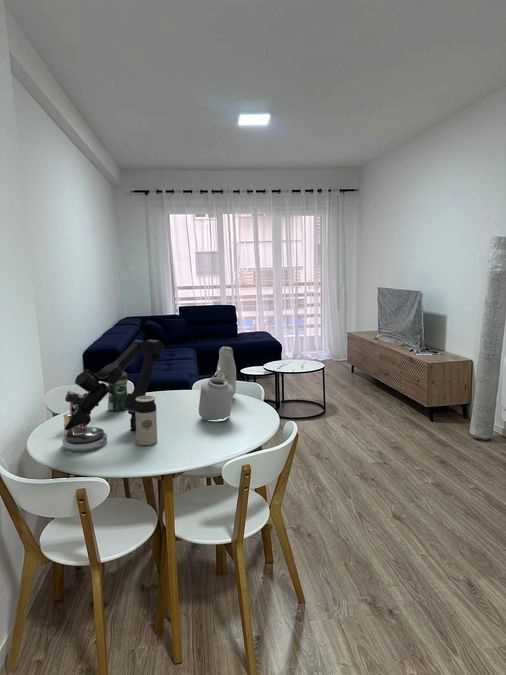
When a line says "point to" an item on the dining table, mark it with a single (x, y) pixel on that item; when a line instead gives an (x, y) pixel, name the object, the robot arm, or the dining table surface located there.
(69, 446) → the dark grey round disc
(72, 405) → the soda can
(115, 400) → the coffee jar
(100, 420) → the dining table surface
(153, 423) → the travel mug
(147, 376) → the robot arm
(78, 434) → the dial
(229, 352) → the grey bottle
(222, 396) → the jar
